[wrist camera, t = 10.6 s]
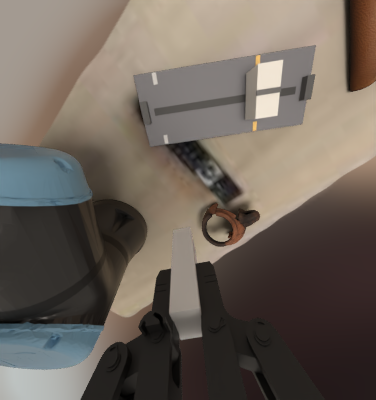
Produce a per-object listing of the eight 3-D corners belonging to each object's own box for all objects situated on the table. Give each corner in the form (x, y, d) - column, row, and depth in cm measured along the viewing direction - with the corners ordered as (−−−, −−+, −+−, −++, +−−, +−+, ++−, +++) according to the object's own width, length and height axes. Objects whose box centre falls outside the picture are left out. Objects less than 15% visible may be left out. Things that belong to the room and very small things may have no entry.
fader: (244, 119, 25) (255, 119, 21) (245, 73, 22) (258, 63, 19) (264, 116, 25) (278, 115, 21) (267, 69, 22) (284, 59, 19)
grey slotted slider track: (152, 145, 29) (148, 147, 26) (137, 79, 24) (130, 73, 22) (294, 124, 28) (307, 124, 25) (305, 51, 23) (322, 41, 21)
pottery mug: (221, 240, 40) (211, 257, 33) (203, 208, 40) (189, 218, 33) (268, 222, 34) (268, 238, 27) (246, 185, 35) (241, 191, 27)
